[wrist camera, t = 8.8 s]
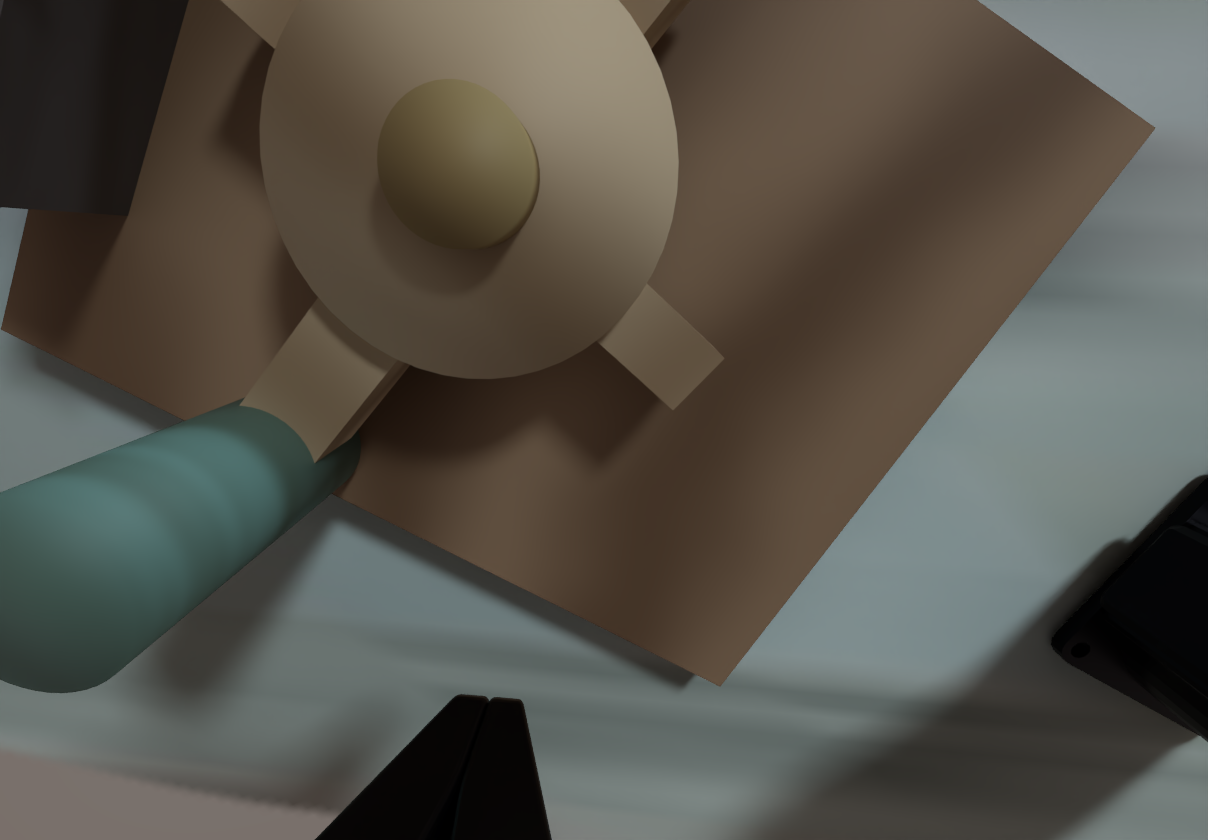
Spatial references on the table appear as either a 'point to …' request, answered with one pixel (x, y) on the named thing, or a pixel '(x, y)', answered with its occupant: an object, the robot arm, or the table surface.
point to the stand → (681, 277)
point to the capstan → (378, 291)
